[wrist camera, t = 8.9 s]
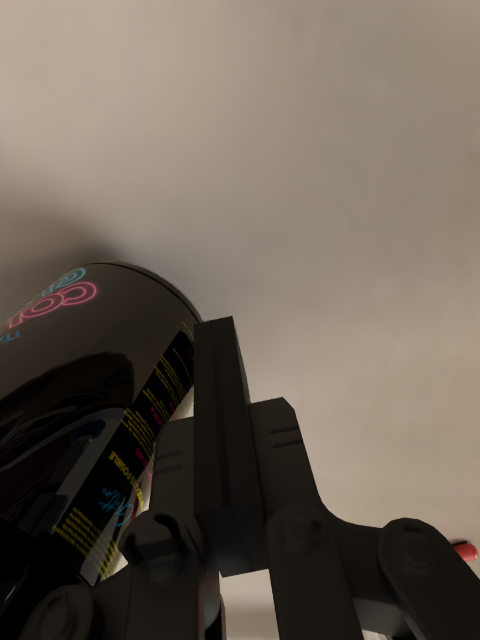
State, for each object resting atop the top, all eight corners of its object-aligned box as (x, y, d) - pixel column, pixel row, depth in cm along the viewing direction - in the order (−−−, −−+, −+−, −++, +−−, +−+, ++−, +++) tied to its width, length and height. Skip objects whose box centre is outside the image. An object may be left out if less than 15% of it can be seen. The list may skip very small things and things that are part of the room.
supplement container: (162, 225, 13) (-191, 575, 5) (245, 375, 16) (119, 738, 8) (28, 276, 16) (-329, 543, 8) (121, 393, 19) (-64, 671, 11)
